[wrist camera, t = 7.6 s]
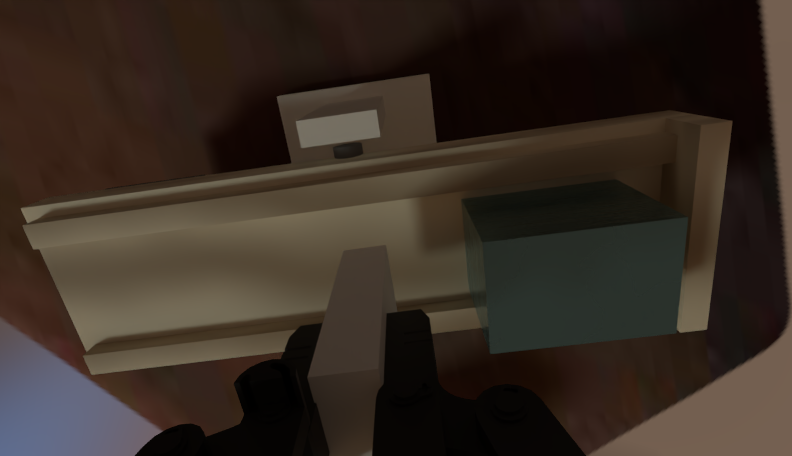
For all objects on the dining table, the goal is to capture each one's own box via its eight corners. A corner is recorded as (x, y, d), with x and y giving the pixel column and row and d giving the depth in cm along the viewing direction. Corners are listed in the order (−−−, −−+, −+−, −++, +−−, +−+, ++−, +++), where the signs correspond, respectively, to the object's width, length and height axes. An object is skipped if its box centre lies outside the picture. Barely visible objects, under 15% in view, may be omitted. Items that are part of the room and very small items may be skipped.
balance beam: (90, 172, 22) (-30, 215, 15) (632, 94, 20) (734, 108, 14) (150, 326, 25) (70, 412, 18) (624, 266, 23) (705, 338, 17)
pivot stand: (282, 95, 24) (224, 111, 16) (427, 73, 24) (443, 79, 16) (327, 301, 29) (300, 395, 21) (450, 287, 28) (471, 376, 20)
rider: (461, 198, 17) (482, 242, 13) (615, 179, 17) (688, 217, 13) (468, 288, 19) (490, 354, 15) (612, 271, 18) (675, 333, 14)
